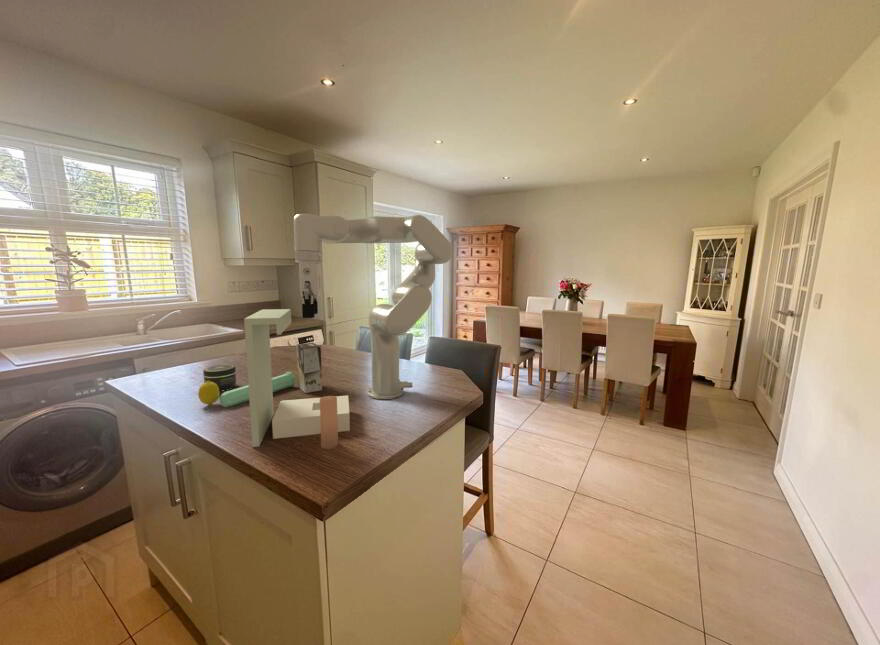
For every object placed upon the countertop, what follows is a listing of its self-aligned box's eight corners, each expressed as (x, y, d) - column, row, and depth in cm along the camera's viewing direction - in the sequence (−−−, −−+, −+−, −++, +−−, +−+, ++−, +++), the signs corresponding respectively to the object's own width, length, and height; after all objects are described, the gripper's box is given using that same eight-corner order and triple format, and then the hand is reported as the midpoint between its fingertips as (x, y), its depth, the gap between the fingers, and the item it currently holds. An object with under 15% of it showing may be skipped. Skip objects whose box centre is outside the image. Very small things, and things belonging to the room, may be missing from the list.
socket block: (348, 411, 108) (348, 395, 107) (349, 430, 95) (349, 413, 94) (281, 417, 103) (280, 400, 102) (273, 438, 90) (272, 420, 89)
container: (223, 390, 108) (292, 370, 129) (214, 394, 111) (283, 373, 132) (229, 408, 107) (297, 385, 129) (219, 412, 110) (288, 388, 132)
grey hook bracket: (295, 412, 106) (290, 309, 102) (285, 443, 87) (279, 317, 83) (268, 415, 104) (262, 309, 100) (252, 447, 85) (244, 318, 81)
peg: (338, 440, 89) (337, 395, 88) (338, 448, 85) (336, 400, 84) (321, 442, 88) (320, 396, 86) (320, 450, 84) (319, 402, 83)
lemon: (224, 404, 112) (222, 379, 111) (206, 409, 107) (204, 384, 106) (213, 401, 115) (211, 377, 113) (195, 406, 110) (193, 382, 108)
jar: (199, 389, 126) (197, 368, 125) (228, 382, 134) (226, 362, 133) (213, 394, 121) (211, 373, 120) (242, 386, 129) (241, 366, 128)
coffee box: (323, 390, 127) (321, 346, 124) (304, 393, 123) (303, 348, 121) (314, 383, 134) (313, 342, 132) (297, 386, 130) (295, 344, 128)
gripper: (319, 257, 96) (321, 319, 98) (324, 259, 112) (325, 312, 115) (290, 256, 94) (292, 319, 96) (299, 258, 111) (301, 312, 113)
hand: (310, 315), depth 106 cm, fingers open, 9 cm apart
